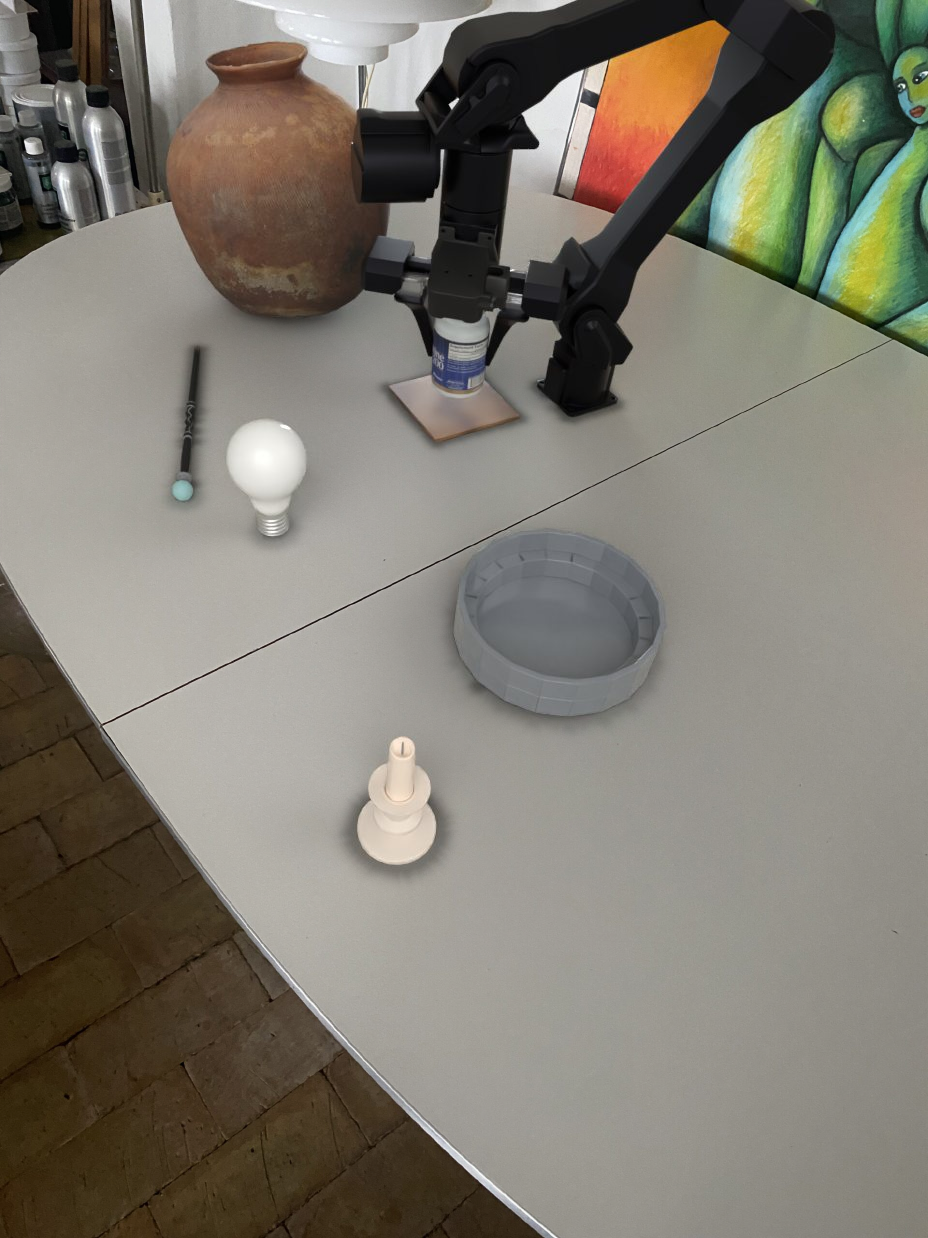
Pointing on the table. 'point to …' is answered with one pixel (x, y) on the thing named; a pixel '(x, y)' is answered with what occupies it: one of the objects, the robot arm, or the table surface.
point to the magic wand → (187, 439)
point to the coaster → (451, 409)
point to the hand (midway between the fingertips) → (458, 359)
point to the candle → (398, 809)
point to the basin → (558, 621)
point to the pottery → (272, 186)
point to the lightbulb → (267, 469)
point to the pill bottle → (459, 357)
